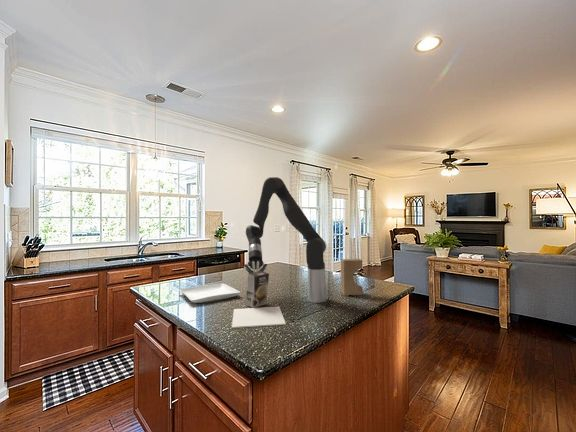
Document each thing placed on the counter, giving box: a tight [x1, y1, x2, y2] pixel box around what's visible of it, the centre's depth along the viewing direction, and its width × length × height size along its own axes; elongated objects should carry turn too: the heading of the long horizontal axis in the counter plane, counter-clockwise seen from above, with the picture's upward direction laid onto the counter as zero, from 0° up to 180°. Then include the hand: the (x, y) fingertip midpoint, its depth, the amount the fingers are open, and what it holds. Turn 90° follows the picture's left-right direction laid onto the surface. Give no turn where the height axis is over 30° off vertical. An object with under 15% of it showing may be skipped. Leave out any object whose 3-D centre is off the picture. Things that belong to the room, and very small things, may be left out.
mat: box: [231, 306, 287, 329], centre depth 124 cm, size 22×22×1 cm
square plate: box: [178, 283, 241, 304], centre depth 157 cm, size 27×27×4 cm
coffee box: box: [245, 271, 270, 308], centre depth 140 cm, size 9×6×16 cm
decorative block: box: [340, 258, 364, 297], centre depth 159 cm, size 11×6×20 cm, turn 99°
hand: (256, 280), depth 144 cm, fingers closed
